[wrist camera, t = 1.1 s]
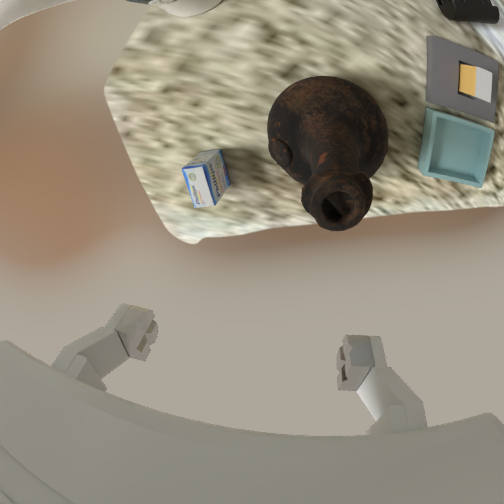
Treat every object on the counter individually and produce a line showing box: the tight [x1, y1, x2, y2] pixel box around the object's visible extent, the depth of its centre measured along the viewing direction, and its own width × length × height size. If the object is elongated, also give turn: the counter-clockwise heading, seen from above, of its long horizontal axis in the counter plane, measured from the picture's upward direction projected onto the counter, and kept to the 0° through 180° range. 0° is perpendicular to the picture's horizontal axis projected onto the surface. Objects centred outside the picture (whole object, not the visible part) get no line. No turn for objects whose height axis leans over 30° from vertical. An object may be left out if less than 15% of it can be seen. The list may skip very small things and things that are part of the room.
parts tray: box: [418, 107, 495, 188], centre depth 34 cm, size 12×14×4 cm
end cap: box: [436, 0, 499, 24], centre depth 15 cm, size 10×7×7 cm
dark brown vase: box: [267, 76, 388, 231], centre depth 30 cm, size 18×18×28 cm
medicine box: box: [182, 149, 230, 208], centre depth 48 cm, size 8×4×9 cm, turn 13°
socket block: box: [425, 35, 498, 123], centre depth 26 cm, size 12×14×2 cm
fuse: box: [458, 64, 492, 103], centre depth 23 cm, size 5×3×8 cm, turn 5°
